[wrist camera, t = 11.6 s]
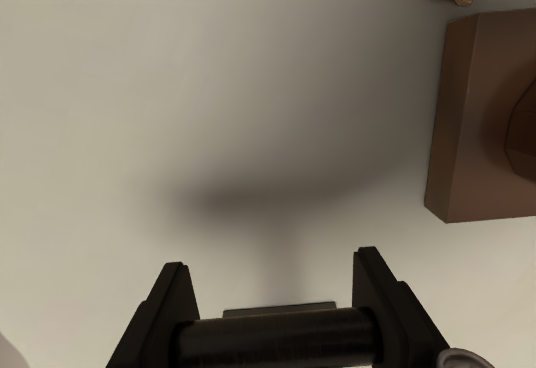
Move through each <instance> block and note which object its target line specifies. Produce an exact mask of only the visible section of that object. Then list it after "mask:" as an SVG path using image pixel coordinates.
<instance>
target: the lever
mask: <svg viewBox="0 0 536 368" xmlns="http://www.w3.org/2000/svg"><path fill="white" fill-rule="evenodd" d="M382 361H383V343H382V337H381V333H380V329H379V326H378V323H377V320H376V318H375V315H374V313H373V312H372V310H371V309H370V308H369V307H367V306H361V307H349V308H337V309H324V310H312V311H300V312H288V313H276V314H263V315H251V316H239V317H227V318H215V319H202V320H190V321H181V322H179V323H178V324H177V325H176V326H175V328H174V331H173V334H172V337H171V342H170V349H169V367H170V368H343V367H356V366H369V365H379V364H381V363H382Z"/></svg>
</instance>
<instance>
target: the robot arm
mask: <svg viewBox="0 0 536 368" xmlns="http://www.w3.org/2000/svg"><path fill="white" fill-rule="evenodd" d="M361 306H367V307H369V308H370V309H371V310H372V312H373V313H374V315H375V318H376V320H377V323H378V326H379V329H380V333H381V337H382V343H383V361H382V363H381V364H379V365H372V368H495V367H494V366H493V365H491V364H490V363H489V362H488V361H486V360H485V359H484V358H482V357H481V356H479V355H477V354H475V353H473V352H470V351H468V350H465V349H459V348H450V346H449V345H448V343H447V342H446V340H445V339H444V337H443V336H442V334H441V333H440V331H439V330H438V329H437V327H436V326H435V324H434V323H433V321H432V320H431V318H430V317H429V315H428V314H427V312H426V311H425V309H424V308H423V306H422V305H421V303H420V302H419V300H418V299H417V297H416V296H415V294H414V293H413V292H412V290H411V289H410V287H409V286H408V284H407V283H406V282H404V281H397V280H396V278H395V277H394V275H393V273H392V272H391V270H390V269H389V267H388V266H387V264H386V262H385V261H384V259H383V258H382V256H381V255H380V253H379V251H378V250H377V248H376V247H374V246H372V247H360V248H359V249H358V252H354V255H353V288H352V307H361ZM190 320H200V316H199V311H198V307H197V303H196V298H195V294H194V290H193V286H192V281H191V277H190V273H189V269H188V266H187V265H183V263H182V262H170V263H166V264H165V265H164V267H163V269H162V271H161V273H160V275H159V277H158V278H157V280H156V282H155V284H154V286H153V288H152V290H151V292H150V294H149V296H148V298H147V300H146V301H143V302H141V304H140V305H139V306H138V308H137V310H136V312H135V314H134V316H133V318H132V319H131V321H130V323H129V325H128V327H127V329H126V331H125V332H124V334H123V336H122V338H121V340H120V342H119V344H118V345H117V347H116V349H115V351H114V353H113V355H112V357H111V358H110V360H109V362H108V364H107V366H106V368H170V367H169V349H170V342H171V337H172V334H173V331H174V328H175V326H176V325H177V324H178V323H179V322H181V321H190Z"/></svg>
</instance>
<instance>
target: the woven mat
mask: <svg viewBox="0 0 536 368" xmlns="http://www.w3.org/2000/svg"><path fill="white" fill-rule="evenodd" d="M455 1H456V3H457V4H458V5H461V6H465V7H467V6H469V5H470V4H471V2H472V1H473V0H455Z"/></svg>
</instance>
